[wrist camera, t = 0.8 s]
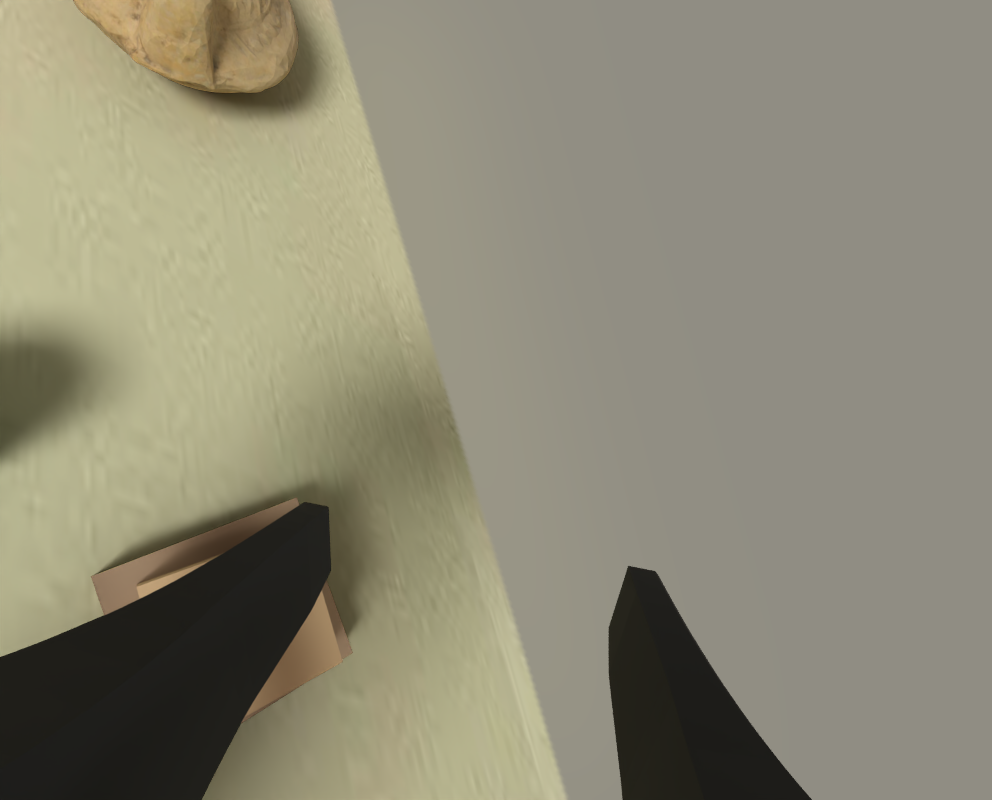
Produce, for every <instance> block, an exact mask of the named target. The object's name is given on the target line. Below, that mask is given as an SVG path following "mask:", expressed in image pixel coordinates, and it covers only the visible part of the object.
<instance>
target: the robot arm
mask: <svg viewBox="0 0 992 800" xmlns="http://www.w3.org/2000/svg"><path fill="white" fill-rule="evenodd" d="M330 571H331V557H330V532H329V508H328V507H327V506H322V505H317V504H312V503H307V502H304V503H302V504H301V505H299V506H297V507H296V508H294V509H293V510H291V511H289V512H288V513H286V514H285V515H283V516H282V517H280V518H279V519H277V520H275V521H274V522H272V523H271V524H269V525H268V526H266V527H265V528H263V529H261V530H260V531H258V532H257V533H255V534H253V535H252V536H250V537H249V538H247V539H245V540H244V541H242V542H241V543H239V544H237V545H236V546H234V547H233V548H231V549H229V550H228V551H226V552H224V553H223V554H221V555H219V556H218V557H216V558H214V559H212V560H211V561H209V562H207V563H205V564H204V565H202V566H200V567H198V568H197V569H195V570H193V571H191V572H190V573H188V574H186V575H184V576H183V577H181V578H179V579H177V580H175V581H174V582H172V583H170V584H168V585H166V586H164V587H162V588H160V589H158V590H156V591H154V592H152V593H150V594H148V595H146V596H144V597H142V598H140V599H138V600H136V601H134V602H132V603H130V604H128V605H126V606H124V607H122V608H119V609H117V610H115V611H113V612H111V613H109V614H106V615H104V616H102V617H99V618H97V619H94V620H92V621H90V622H87V623H85V624H83V625H80V626H78V627H76V628H73V629H71V630H69V631H66V632H64V633H61V634H59V635H57V636H54V637H52V638H50V639H47V640H45V641H42V642H39V643H37V644H34V645H32V646H29V647H26V648H24V649H21V650H18V651H16V652H13V653H10V654H8V655H5V656H2V657H0V800H202V798H203V796H204V794H205V792H206V790H207V788H208V786H209V784H210V782H211V780H212V778H213V776H214V774H215V772H216V770H217V768H218V766H219V764H220V762H221V760H222V758H223V756H224V754H225V753H226V751H227V749H228V747H229V745H230V743H231V741H232V739H233V737H234V735H235V734H236V732H237V730H238V728H239V726H240V724H241V722H242V720H243V719H244V717H245V715H246V714H247V712H248V710H249V709H250V707H251V705H252V703H253V702H254V700H255V698H256V697H257V695H258V694H259V692H260V691H261V689H262V688H263V686H264V684H265V683H266V681H267V680H268V678H269V677H270V675H271V674H272V672H273V670H274V669H275V667H276V666H277V664H278V663H279V661H280V659H281V658H282V656H283V655H284V653H285V652H286V650H287V649H288V647H289V645H290V644H291V642H292V641H293V639H294V638H295V636H296V634H297V633H298V631H299V630H300V628H301V627H302V625H303V623H304V622H305V620H306V619H307V617H308V615H309V614H310V612H311V610H312V609H313V607H314V605H315V603H316V601H317V599H318V597H319V595H320V593H321V591H322V588H323V586H324V584H325V582H326V580H327V578H328V576H329V573H330ZM609 680H610V689H611V699H612V708H613V716H614V725H615V734H616V742H617V751H618V760H619V769H620V777H621V786H622V798H623V800H812V799H811V798H810V797H809V796H808V795H807V794H806V792H805V791H804V790H803V789H802V788H801V787H800V786H799V784H798V783H797V782H796V781H795V780H794V778H793V777H792V776H791V775H790V774H789V772H788V771H787V770H786V769H785V768H784V766H783V765H782V764H781V763H780V761H779V760H778V759H777V757H776V756H775V755H774V754H773V752H772V751H771V750H770V749H769V747H768V746H767V745H766V743H765V742H764V741H763V740H762V738H761V737H760V736H759V734H758V733H757V732H756V730H755V729H754V727H753V726H752V725H751V723H750V722H749V721H748V719H747V718H746V716H745V715H744V714H743V712H742V711H741V710H740V708H739V707H738V705H737V704H736V702H735V701H734V699H733V698H732V696H731V695H730V694H729V692H728V691H727V689H726V688H725V686H724V685H723V683H722V682H721V680H720V679H719V677H718V676H717V674H716V673H715V671H714V670H713V668H712V667H711V665H710V664H709V662H708V660H707V659H706V657H705V655H704V654H703V652H702V651H701V649H700V648H699V646H698V644H697V642H696V641H695V639H694V638H693V636H692V634H691V633H690V631H689V629H688V628H687V626H686V624H685V622H684V621H683V619H682V617H681V616H680V614H679V612H678V610H677V608H676V607H675V605H674V603H673V602H672V599H671V598H670V596H669V594H668V592H667V591H666V589H665V587H664V585H663V583H662V581H661V579H660V578H659V576H658V574H657V573H656V572H655V571H652V570H646V569H641V568H636V567H631V566H628V568H627V572H626V575H625V578H624V581H623V585H622V588H621V591H620V594H619V597H618V600H617V603H616V607H615V610H614V613H613V616H612V620H611V622H610V626H609Z"/></svg>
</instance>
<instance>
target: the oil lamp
mask: <svg viewBox="0 0 992 800" xmlns="http://www.w3.org/2000/svg"><path fill="white" fill-rule="evenodd" d="M73 1H74V3H75V5H76V6H77V8H78V9H79V10H80V11H81V13H82V14H84V15H85V16H86V17H87V18H88V19H90V20H91V21H92V22H93V23H95V24H96V25H97V26H98V27H99V29H100V30H101V31H102V32H103V33H104V34H105V35H107V36H108V37H109V38H110V39H111V40H112V41H113V42H115V43H116V44H117V45H118V46H119V47H120V48H121V49H123V50H124V51H125V52H126V53H127V54H129V55H130V56H131V58H132V59H133V60H134V61H135V62H137V63H139V64H141V65H143V66H145V67H147V68H148V69H150V70H152V71H154V72H156V73H159V74H160V75H162V76H164V77H166V78H168V79H170V80H172V81H174V82H177V83H179V84H181V85H184V86H188V87H191V88H194V89H198V90H203V91H209V92H221V93H238V92H246V93H256V92H261V91H263V90H265V89H268V88H271V87H273V86H275V85H277V84H278V83H280V82H281V81H282V80H283V79H284V78H285V77H286V76H287V75H288V73H289V71H290V69H291V67H292V65H293V62H294V59H295V56H296V53H297V50H298V40H299V35H298V29H297V26H296V24H295V19H294V14H293V11H292V8H291V5H290V2H289V0H73Z"/></svg>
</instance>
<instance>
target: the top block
mask: <svg viewBox="0 0 992 800" xmlns="http://www.w3.org/2000/svg"><path fill="white" fill-rule="evenodd" d="M222 554H223V553H222ZM219 555H221V554H219ZM219 555H216V556H214V557H211V558H208V559H205V560H202V561H200V562H197V563H194V564H191V565H188V566H186V567H183V568H180V569H177V570H174V571H172V572H169V573H166V574H163V575H160V576H158V577H155V578H152V579H149V580H146V581H144V582H141V583H138V584H137V591H138V595H139V598H142V597H144V596H146V595H148V594H150V593H152V592H154V591H156V590H158V589H160V588H162V587H164V586H166V585H168V584H170V583H172V582H174V581H175V580H177V579H179V578H181V577H183V576H184V575H186V574H188V573H190V572H191V571H193V570H195V569H197V568H198V567H200V566H202V565H204V564H205V563H207V562H209V561H211V560H212V559H214V558H216V557H218V556H219ZM341 662H343V661H342V658H341V654H340V651H339V647H338V644H337V641H336V637H335V634H334V630H333V627H332V623H331V620H330V617H329V613H328V610H327V606H326V603H325V599H324V596H323V593H322V591H321V593H320V595H319V597H318V599H317V601H316V603H315V605H314V607H313V609H312V610H311V612H310V614H309V615H308V617H307V619H306V620H305V622H304V623H303V625H302V627H301V628H300V630H299V631H298V633H297V634H296V636H295V638H294V639H293V641H292V642H291V644H290V645H289V647H288V649H287V650H286V652H285V653H284V655H283V656H282V658H281V659H280V661H279V663H278V664H277V666H276V667H275V669H274V670H273V672H272V674H271V675H270V677H269V678H268V680H267V681H266V683H265V684H264V686H263V688H262V689H261V691H260V692H259V694H258V695H257V697H256V698H255V700H254V702H253V703H252V705H251V707H250V709H249V710H248V712H247V714H246V715H245V717H246V716H247V715H249V714H251V713H253V712H254V711H256V710H258V709H260V708H262V707H263V706H265V705H267V704H269V703H270V702H272V701H274V700H276V699H278V698H279V697H281V696H283V695H285V694H286V693H288V692H290V691H292V690H293V689H295V688H297V687H299V686H301V685H302V684H304V683H306V682H308V681H309V680H311V679H313V678H315V677H317V676H318V675H320V674H322V673H324V672H325V671H327V670H329V669H331V668H333V667H334V666H336V665H338V664H340V663H341Z"/></svg>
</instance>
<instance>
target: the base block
mask: <svg viewBox="0 0 992 800" xmlns="http://www.w3.org/2000/svg"><path fill="white" fill-rule="evenodd" d="M297 506H299V502H298V499H297V498H294V499H291V500H288V501H286V502H283V503H281V504H278V505H275V506H273V507H270V508H268V509H265V510H262V511H260V512H257V513H254V514H252V515H249V516H247V517H244V518H241V519H239V520H236V521H234V522H231V523H228V524H226V525H223V526H221V527H218V528H215V529H213V530H210V531H208V532H205V533H202V534H200V535H197V536H195V537H192V538H189V539H187V540H184V541H181V542H179V543H176V544H174V545H171V546H168V547H166V548H163V549H161V550H158V551H155V552H153V553H150V554H148V555H145V556H142V557H140V558H137V559H135V560H132V561H129V562H127V563H124V564H121V565H119V566H116V567H114V568H111V569H108V570H106V571H103V572H101V573H98V574H95V575H93V576H91V578H92V581H93V583H94V586H95V589H96V592H97V595H98V598H99V601H100V604H101V607H102V610H103V613H104V615H106V614H109V613H111V612H113V611H115V610H117V609H119V608H122V607H124V606H126V605H128V604H130V603H132V602H134V601H136V600H138V599H140V598H139V595H138V591H137V584H138V583H141V582H144V581H146V580H149V579H152V578H155V577H158V576H160V575H163V574H166V573H169V572H172V571H174V570H177V569H180V568H183V567H186V566H188V565H191V564H194V563H197V562H200V561H202V560H205V559H208V558H211V557H214V556H216V555H219V554H222V553H224V552H226V551H228V550H229V549H231V548H233V547H234V546H236V545H237V544H239V543H241V542H242V541H244V540H245V539H247V538H249V537H250V536H252V535H253V534H255V533H257V532H258V531H260V530H261V529H263V528H265V527H266V526H268V525H269V524H271V523H272V522H274V521H275V520H277V519H279V518H280V517H282V516H283V515H285V514H286V513H288V512H289V511H291V510H293V509H294V508H296V507H297ZM322 593H323V596H324V599H325V603H326V606H327V610H328V613H329V617H330V620H331V623H332V627H333V630H334V634H335V637H336V641H337V644H338V647H339V651H340V654H341V658H342V659H344V658H345V657H347V656H348V655H350V654H352V653H353V652H352V649H351V646H350V644H349V641H348V638H347V635H346V632H345V630H344V627H343V624H342V621H341V619H340V616H339V613H338V610H337V608H336V605H335V602H334V599H333V596H332V594H331V591H330V588H329V585H328V583H327V580H326V582H325V584H324V586H323V588H322ZM302 685H303V684H302ZM297 688H298V687H297ZM295 689H296V688H295ZM295 689H293V690H295ZM293 690H292V691H293ZM292 691H290V692H292ZM290 692H288V693H290ZM288 693H286V694H285V695H287V694H288ZM285 695H283V696H281V697H279V698H278V699H276V700H274V701H272V702H270V703H269V704H267V705H265V706H263V707H262V708H260V709H258V710H256V711H254V712H253V713H251V714H249V715H247V716H246V717H244V719H243V720H242V722H241V723H243V722H244V721H246V720H247V719H249V718H251V717H252V716H254V715H255V714H257V713H258V712H260V711H262V710H263V709H265V708H266V707H268V706H270V705H271V704H273V703H274V702H276V701H277V700H279V699H281V698H282V697H284V696H285Z"/></svg>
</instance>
